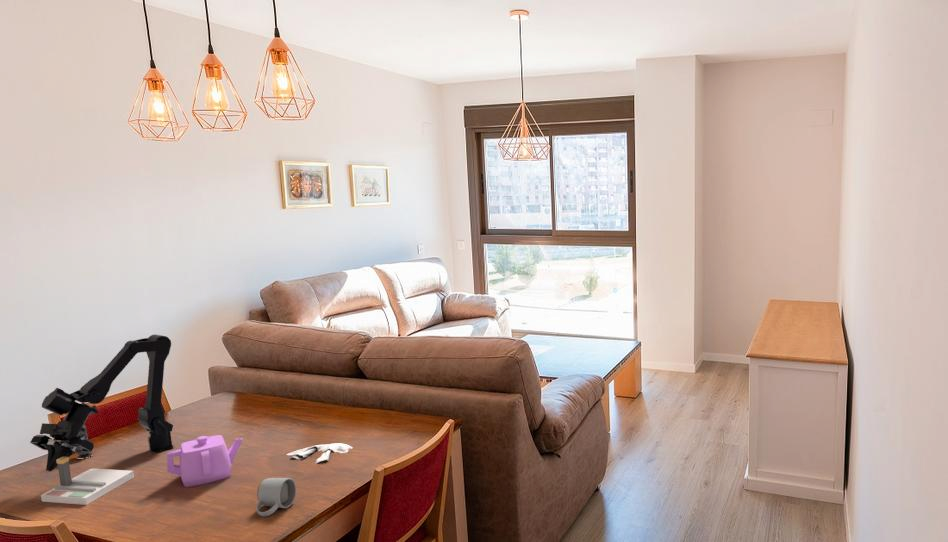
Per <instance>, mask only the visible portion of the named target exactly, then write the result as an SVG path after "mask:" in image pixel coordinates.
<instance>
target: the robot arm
mask: <svg viewBox="0 0 948 542" xmlns="http://www.w3.org/2000/svg"><path fill="white" fill-rule="evenodd" d="M171 348H172V340H171V339H170V338H169V337H168V336H165V335H160V334H151V335H149V336H148V337H145V338H139V339H135V340H128V341H126V342H125V343H124V345H123V347H122V348H121V349H120V350H119V352H117V353H116V355H114V357H113V358H112V360H110V362H109V363H108V364H107V365H106V366H105V367H104V368H103V370H102V371H101V372H100V373H99V374H97V375H96V376H94V377H92V378H91V379H89V380H88V381H87V382H86V383H84V384H83V385H82V386H80V389H78V390H76V391H74V392H73V391H72V392H71V393H67V392H65V391H64V390H63V389H61V388H58V387H55V389H54V390H53V391H51V392H49V393H48V395H46V396H45V397H44V399H43V400H42V403H41V408H43V409H44V410H47V411H49V412H51V413H53V414H55V415H57V416H62V415H63V416H64V415H65V417H64V419H63V420H59V421H58V422H57V423H43V422H42V423H41V427H40V431H39V434H36V435H34V436H33V437H32V438H31V440H30V444H31V445H33V446H35V447H38V448H39V449H40V450H42V451H43V450H44V451H47V461H46V469H45V470H46V472H52V471H53V470H54V469H55V468H58V464H57V461H56V460H57V459H59V458H61V457H69V458H70V457H71V456H72V455H75V454H77V453H76V452H75V449H76V447H82V450H83V452H90V453H93V449H94V447H95V444H94V442H93V440H92V441H91V440H90V439H87V438H85V437H78V435H79V433H80V432H84V430H85V429H84V428H83V426H84V425H86V424H85V423H86V422H87V419H88V418H89V416H90V415H97V414H98V413H99V411H98V409H97V406H96V404H100V403H102V402H103V401H104V400H105V399H106V397H107V395H108V393H109V392H110V389H111V387H112V384H113V382H114V381H115V380H116V378H117V377H118V376H119V375H120V374H121V373H122V371H123V370H124V369H125V368H126V367H127V366H128V364H129V363H130V362H131V361H132V360H133V359H134V358H135V356H136V355H137V354H139V353H146V356H147V358H148V362H149V363H148V373H147V375H148V376H147V386H146V396H145V398H146V399H145V403H144V405H143V407H138V417H137V421H139V425H140V426H141V427H142V428H144V429H145V430H146V431H147V432H148V437H147V442H148V449H149V450H150V451H151V453H152V454H156V453H159V452H160V453H161V452H163V451H167V450H170V449H171V450H172V449H174V446H173V441H172V435H171V434H172V433H171V432H172V431H173V428H174V425H173V424H172V423H170V422H169V421H166V416H165V410H164V408H163V407H164V406H162V405H163V404H162V400H163V399H162V396H163V385H164V384H163V383H164V373H165V362H166V360H167V358H168V356H169V354H170V352H171ZM87 403H88V404H87ZM89 404H92V405H89Z"/></svg>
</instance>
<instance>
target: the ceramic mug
mask: <svg viewBox="0 0 948 542" xmlns="http://www.w3.org/2000/svg"><path fill="white" fill-rule="evenodd" d="M256 491H257V492H256V496H257V497H256V498H257V501H258V502H257V504H256V507H255V510H256V513H257V515H258V516H260V517H265V518H266V517H268V516H269V517H270V515H273V513H275V512H276V511H277V510H278V508H279V509H288V508H289V507H291V505H293V503H294V501H295V500H296V495H297V485H296V482H295V481H294V479H293V478H292V477H269V478H265V479H263V480H262V481H261V482H260V484H258V488H257V490H256ZM262 505H263V506H266V507H270V508H269V509H268V510H265V511H261V510H260V509H261V507H262Z"/></svg>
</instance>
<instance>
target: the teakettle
mask: <svg viewBox="0 0 948 542" xmlns="http://www.w3.org/2000/svg"><path fill="white" fill-rule="evenodd" d="M242 442H243V438H242V437H239V438H238V437H236V438H235V440H234V441H233V442H232V445H231V446H230V447H229V449H228V448H227V445H226V442H225V439H224V437H223V436H222V435H221V434H217V435H212V436H208V435H202V436H198V437H196V439H193V440H188V441H184V442H182V443H181V444H180V448H179V449H175V450H172V451H167V452H166V471H167V473H170V474H174V475H177V476H180V477H181V478H180V479H181V481H182V484H183V486H184V487H185V488H190V487H191V488H192V487H195V486H196V487H197V486H200V485H204V484H209V483H213V482H217V481H219V480H223V479H227V478H229V477H231V474H232V464H233V462H234V460H235V457H236V455H237V453H238V451H239V449H240V448H241V445H242ZM174 457H179V465H177V464H174V463H175V462H174Z"/></svg>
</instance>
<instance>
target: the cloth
mask: <svg viewBox="0 0 948 542" xmlns="http://www.w3.org/2000/svg"><path fill="white" fill-rule="evenodd" d="M350 449H351V450H352V449H353V446H351V445H349V444H346V443H341V442H337V443H330V444H329V443H327V444H316V445H312V446H308V447H304V448H301V449H297V450H295V451H291V452H289V453H286V455H287V456H290V457H289V460H292V459H296V460H304V459H306V458H308V457H309V456H310V455H312V454H314V453H316V452H322V451H323V452H322V454H321V456H320V457H318V458H317V459H316V460H315V465H317V464H319V463H325V462H326V463H329V461H330V456H331V453H332V452H333V453H339V454H344V453H348V452H349V451H350Z"/></svg>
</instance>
